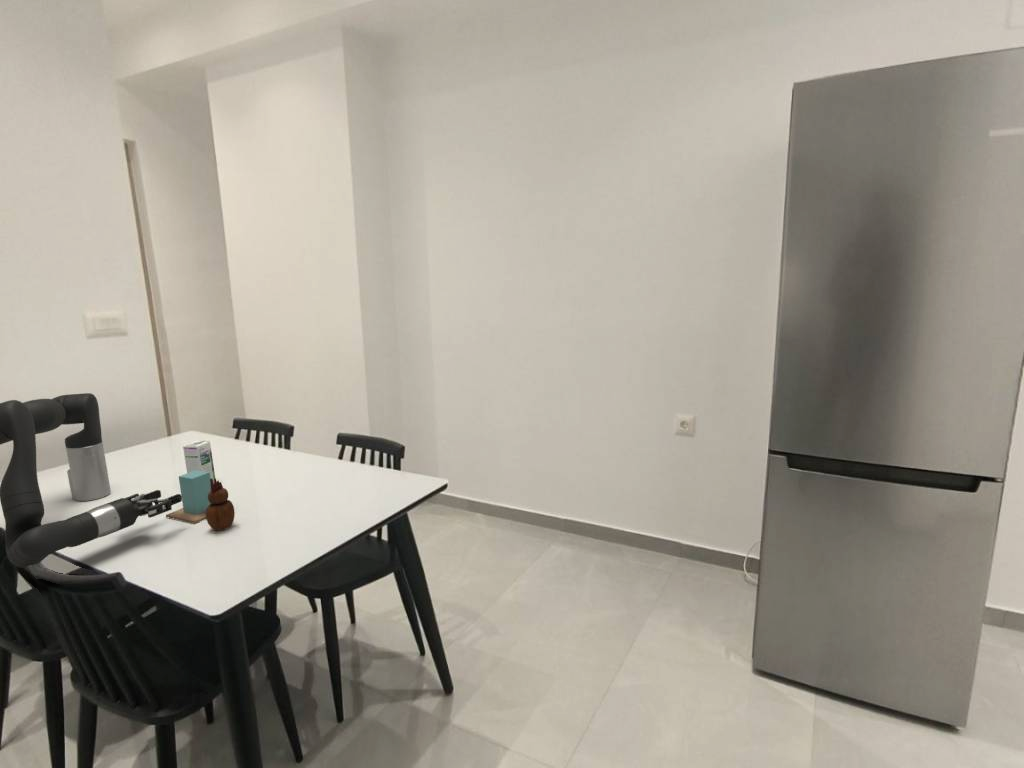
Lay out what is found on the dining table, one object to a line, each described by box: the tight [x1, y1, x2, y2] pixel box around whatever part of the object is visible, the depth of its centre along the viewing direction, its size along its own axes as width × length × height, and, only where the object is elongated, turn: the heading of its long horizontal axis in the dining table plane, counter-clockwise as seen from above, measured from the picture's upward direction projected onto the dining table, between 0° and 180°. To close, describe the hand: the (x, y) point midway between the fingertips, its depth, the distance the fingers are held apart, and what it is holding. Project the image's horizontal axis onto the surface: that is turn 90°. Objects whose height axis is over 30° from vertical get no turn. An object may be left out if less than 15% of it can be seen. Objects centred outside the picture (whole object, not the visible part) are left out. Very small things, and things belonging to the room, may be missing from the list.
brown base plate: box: [165, 507, 207, 525], centre depth 163 cm, size 12×12×8 cm
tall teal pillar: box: [178, 470, 211, 515], centre depth 163 cm, size 6×6×11 cm
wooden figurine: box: [205, 477, 235, 532], centre depth 152 cm, size 7×6×15 cm
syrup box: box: [182, 440, 216, 483], centre depth 185 cm, size 6×6×14 cm
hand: (170, 495), depth 155 cm, fingers open, 8 cm apart
